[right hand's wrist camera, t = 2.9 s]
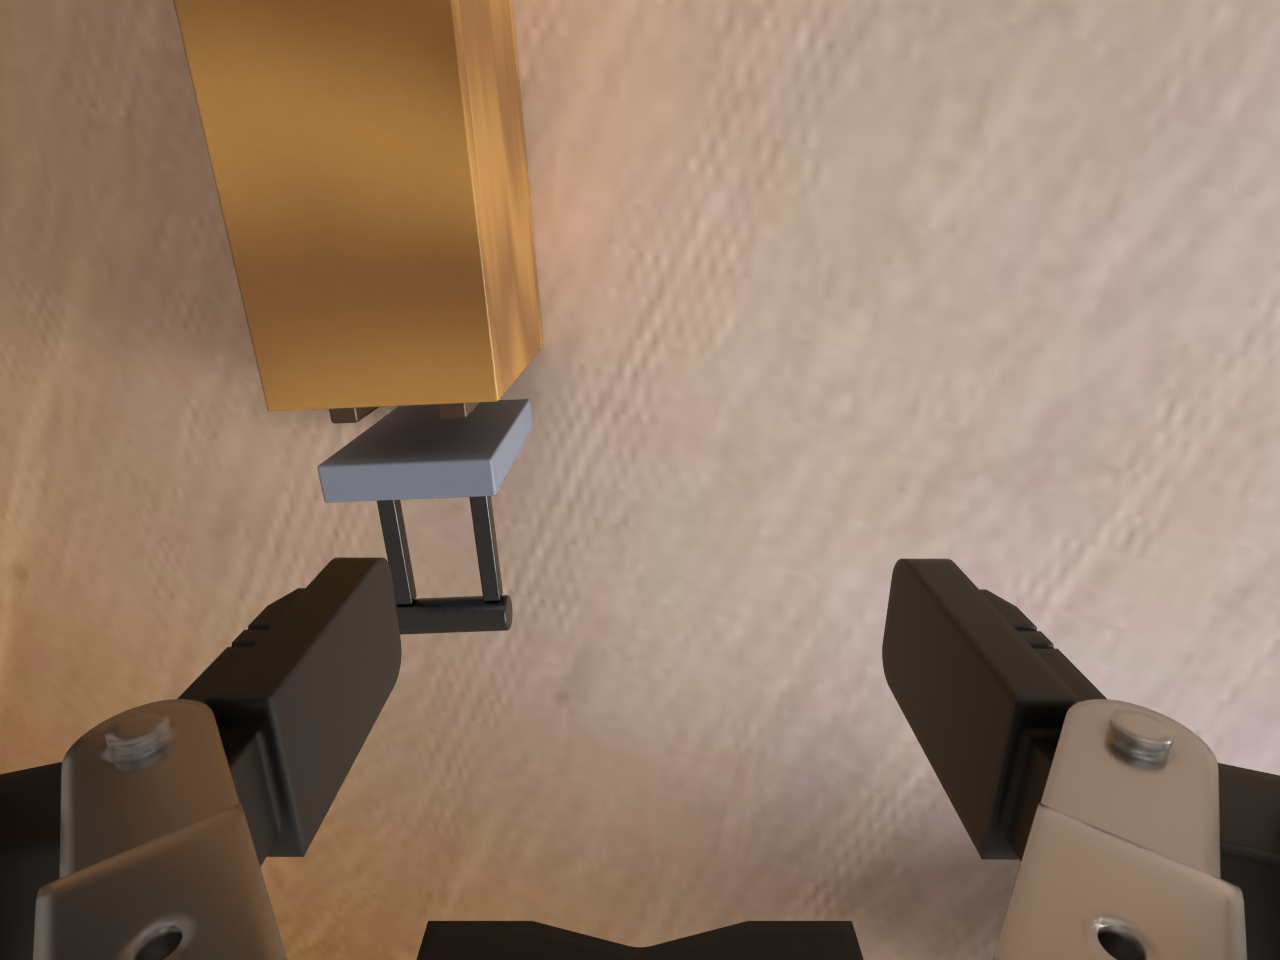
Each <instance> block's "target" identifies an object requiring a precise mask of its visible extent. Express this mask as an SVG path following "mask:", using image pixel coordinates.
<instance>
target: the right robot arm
mask: <svg viewBox="0 0 1280 960" xmlns="http://www.w3.org/2000/svg"><path fill="white" fill-rule="evenodd" d="M882 658H883V667H884V673H885V677H886V680H887V683H888V685H889V687H890V689H891V691H892V693H893V695H894V697H895V698H896V700H897V702H898V704H899V706H900V708H901V710H902V712H903V713H904V715H905V717H906V719H907V721H908V723H909V725H910V726H911V728H912V730H913V732H914V734H915V736H916V738H917V739H918V741H919V743H920V745H921V747H922V749H923V751H924V752H925V754H926V756H927V758H928V760H929V762H930V764H931V765H932V767H933V769H934V771H935V773H936V775H937V777H938V778H939V780H940V782H941V784H942V786H943V788H944V790H945V792H946V793H947V795H948V797H949V799H950V801H951V803H952V805H953V806H954V808H955V810H956V812H957V814H958V816H959V818H960V819H961V821H962V823H963V825H964V827H965V829H966V831H967V832H968V834H969V836H970V838H971V840H972V842H973V844H974V845H975V847H976V849H977V851H978V853H979V855H980V857H981V859H1020V861H1021V865H1020V868H1019V872H1018V875H1017V878H1016V882H1015V885H1014V889H1013V892H1012V896H1011V899H1010V902H1009V906H1008V909H1007V913H1006V916H1005V919H1004V923H1003V926H1002V930H1001V933H1000V937H999V940H998V943H997V947H996V950H995V954H994V957H993V960H1280V776H1279V775H1274V774H1269V773H1264V772H1259V771H1254V770H1250V769H1245V768H1240V767H1235V766H1230V765H1225V764H1221V763H1217V759H1216V757H1215V755H1214V753H1213V752H1212V750H1211V749H1210V748H1209V747H1208V745H1207V744H1206V743H1205V742H1204V741H1203V740H1202V739H1201V738H1200V737H1198V736H1197V735H1196V734H1194V733H1193V732H1192V731H1191V730H1189V729H1188V728H1186V727H1185V726H1183V725H1181V724H1180V723H1178V722H1176V721H1174V720H1173V719H1171V718H1169V717H1167V716H1165V715H1162V714H1160V713H1158V712H1156V711H1153V710H1150V709H1148V708H1145V707H1142V706H1138V705H1135V704H1131V703H1127V702H1122V701H1116V700H1108V699H1107V698H1106V697H1105V696H1104V695H1103V694H1102V693H1101V692H1100V691H1099V690H1098V689H1097V688H1096V687H1095V686H1094V685H1093V684H1092V683H1091V682H1090V681H1089V680H1088V679H1087V678H1086V677H1085V676H1084V675H1083V674H1082V673H1081V672H1080V671H1079V670H1078V669H1077V668H1076V667H1075V666H1074V665H1073V664H1072V663H1071V662H1070V661H1069V660H1068V659H1067V658H1066V657H1065V656H1064V655H1063V654H1062V653H1061V652H1060V651H1059V650H1058V649H1054V647H1053V643H1052V642H1051V641H1050V640H1049V639H1048V638H1047V637H1046V636H1045V635H1044V634H1043V633H1042V632H1041V631H1037V627H1036V626H1035V625H1034V624H1033V623H1032V622H1031V621H1030V620H1029V619H1028V618H1027V617H1026V616H1025V615H1024V614H1023V613H1022V612H1021V611H1020V610H1019V609H1018V608H1017V607H1016V606H1014V605H1012V604H1011V603H1009V602H1007V601H1005V600H1004V599H1002V598H1000V597H998V596H997V595H995V594H993V593H991V592H989V591H988V590H979V589H978V588H977V587H976V586H975V585H974V584H973V583H972V581H971V580H970V579H969V578H968V577H967V576H966V575H965V574H964V573H963V572H962V571H961V570H960V569H959V567H958V566H957V565H956V564H955V563H954V562H953V561H952V560H950V559H899V560H898V561H897V563H896V564H895V567H894V570H893V574H892V581H891V588H890V595H889V602H888V610H887V617H886V624H885V631H884V638H883V647H882ZM400 664H401V640H400V632H399V625H398V618H397V610H396V603H395V596H394V588H393V581H392V574H391V569H390V566H389V563H388V562H387V560H386V559H385V558H334V559H332V560H331V561H330V562H329V563H328V564H327V566H326V567H325V568H324V569H323V570H322V571H321V572H320V573H319V574H318V575H317V576H316V578H315V579H314V580H313V581H312V582H311V583H310V584H309V585H308V586H307V587H306V588H298V589H296V590H295V591H293V592H291V593H289V594H288V595H286V596H284V597H282V598H281V599H279V600H277V601H275V602H274V603H272V604H270V605H268V606H267V607H266V608H265V609H264V610H263V611H262V612H261V613H260V614H259V615H258V616H257V617H256V618H255V619H254V621H253V622H252V623H251V624H250V625H249V626H248V630H244V631H243V632H242V633H241V634H240V635H239V636H238V637H237V638H236V639H235V640H234V641H233V642H232V647H227V648H226V649H225V650H224V651H223V652H222V653H221V654H220V655H219V657H218V658H217V659H216V660H215V661H214V662H213V663H212V664H211V665H210V666H209V667H208V668H207V669H206V670H205V671H204V672H203V673H202V674H201V675H200V676H199V677H198V678H197V679H196V680H195V681H194V682H193V683H192V684H191V685H190V686H189V687H188V688H187V689H186V690H185V691H184V693H183V694H182V695H181V696H180V697H179V698H178V699H172V700H164V701H158V702H153V703H149V704H145V705H142V706H138V707H135V708H132V709H130V710H127V711H124V712H122V713H120V714H118V715H115V716H113V717H111V718H109V719H107V720H106V721H104V722H102V723H100V724H99V725H97V726H95V727H94V728H92V729H91V730H89V731H88V732H87V733H86V734H84V735H83V736H82V737H80V738H79V739H78V740H77V741H76V742H75V743H74V744H73V745H72V747H71V748H70V749H69V750H68V752H67V753H66V755H65V757H64V759H63V762H59V763H55V764H50V765H45V766H40V767H35V768H30V769H25V770H20V771H15V772H11V773H6V774H1V775H0V960H287V957H286V954H285V950H284V947H283V943H282V940H281V937H280V933H279V930H278V926H277V923H276V919H275V916H274V913H273V909H272V906H271V902H270V899H269V896H268V892H267V889H266V885H265V882H264V878H263V875H262V872H261V868H260V867H261V865H262V863H263V862H264V860H265V858H266V857H304V855H305V853H306V851H307V849H308V847H309V846H310V844H311V842H312V840H313V838H314V836H315V834H316V832H317V831H318V829H319V827H320V825H321V823H322V821H323V819H324V817H325V815H326V814H327V812H328V810H329V808H330V806H331V804H332V802H333V800H334V799H335V797H336V795H337V793H338V791H339V789H340V787H341V785H342V783H343V782H344V780H345V778H346V776H347V774H348V772H349V770H350V768H351V766H352V765H353V763H354V761H355V759H356V757H357V755H358V753H359V751H360V750H361V748H362V746H363V744H364V742H365V740H366V738H367V736H368V734H369V733H370V731H371V729H372V727H373V725H374V723H375V721H376V719H377V718H378V716H379V714H380V712H381V710H382V708H383V706H384V704H385V702H386V701H387V699H388V697H389V695H390V693H391V691H392V689H393V687H394V685H395V683H396V681H397V678H398V674H399V670H400ZM417 960H863V957H862V953H861V950H860V947H859V944H858V940H857V937H856V934H855V930H854V927H853V924H852V921H746V922H742V923H738V924H735V925H731V926H727V927H723V928H719V929H715V930H712V931H708V932H704V933H700V934H696V935H692V936H689V937H685V938H681V939H677V940H673V941H669V942H665V943H662V944H658V945H654V946H649V947H631V946H626V945H622V944H618V943H615V942H611V941H607V940H603V939H599V938H595V937H591V936H588V935H584V934H580V933H576V932H572V931H568V930H565V929H561V928H557V927H553V926H549V925H545V924H542V923H538V922H534V921H428V924H427V927H426V930H425V934H424V937H423V940H422V944H421V947H420V950H419V953H418V957H417Z"/></svg>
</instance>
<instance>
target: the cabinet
mask: <svg viewBox="0 0 1280 960" xmlns="http://www.w3.org/2000/svg"><path fill="white" fill-rule="evenodd" d="M173 1H174V5H175V9H176V14H177V18H178V22H179V27H180V31H181V35H182V40H183V44H184V48H185V53H186V57H187V61H188V66H189V70H190V74H191V79H192V83H193V87H194V92H195V96H196V101H197V105H198V109H199V114H200V118H201V122H202V127H203V131H204V135H205V140H206V144H207V148H208V153H209V157H210V161H211V166H212V170H213V174H214V179H215V183H216V187H217V192H218V196H219V200H220V205H221V209H222V214H223V218H224V222H225V227H226V231H227V235H228V240H229V244H230V248H231V253H232V257H233V261H234V266H235V270H236V274H237V279H238V283H239V287H240V292H241V296H242V300H243V305H244V309H245V313H246V318H247V322H248V326H249V331H250V335H251V340H252V344H253V348H254V353H255V357H256V361H257V366H258V370H259V374H260V379H261V383H262V387H263V392H264V396H265V400H266V405H267V409H268V411H289V410H312V409H336V408H359V407H382V406H405V405H428V404H452V403H475V402H497V401H499V400H500V398H501V397H502V396H503V395H504V393H505V392H506V391H507V390H508V389H509V387H510V386H511V385H512V384H513V382H514V381H515V380H516V379H517V378H518V376H519V375H520V374H521V373H522V371H523V370H524V369H525V368H526V367H527V365H528V364H529V363H530V362H531V360H532V359H533V358H534V357H535V356H536V354H537V353H538V352H539V351H540V349H541V348H542V347H543V336H542V325H541V314H540V303H539V292H538V281H537V270H536V259H535V248H534V237H533V226H532V215H531V204H530V193H529V182H528V170H527V159H526V148H525V137H524V126H523V115H522V104H521V93H520V82H519V71H518V60H517V49H516V38H515V27H514V16H513V5H512V0H173Z"/></svg>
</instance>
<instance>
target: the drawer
mask: <svg viewBox="0 0 1280 960" xmlns="http://www.w3.org/2000/svg"><path fill="white" fill-rule="evenodd" d="M377 408H378V407H359V408H336V409H329V411H330V416H331V421H332V423H354V422H358V421H359V420H361V419H362V418H364V417H365V416H367V415H368V414H370V413H371V412H373V411H374V410H375V409H377ZM532 427H533V425H532V415H531V405H530V400H528V399H523V400H500V401H497V402H475V403H452V404H428V405H405V406H398V407H397V408H396V409H394V410H393V411H392V412H390V413H389V414H388V415H386V416H385V417H384V418H382V419H381V420H380V421H378V422H377V423H376V424H374V425H373V426H371V427H370V428H369V429H367V430H366V431H365V432H363V433H362V434H361V435H359V436H358V437H357V438H355V439H354V440H353V441H351V442H350V443H349V444H347V445H346V446H345V447H343V448H342V449H340V450H339V451H338V452H336V453H335V454H334V455H332V456H331V457H330V458H328V459H327V460H326V461H324V462H323V463H322V464H320V465H319V466H318V473H319V477H320V482H321V487H322V492H323V496H324V501H325V502H327V503H329V502H354V501H377V504H378V509H379V515H380V520H381V525H382V531H383V536H384V542H385V547H386V553H387V558H388V563H389V566H390V569H391V574H392V581H393V588H394V596H395V603H396V610H397V618H398V625H399V632H400V634H425V633H452V632H478V631H505V630H509V629H510V627H511V623H512V602H511V599H510V596H508V595H502V593H503V590H502V582H501V574H500V566H499V558H498V550H497V542H496V534H495V526H494V518H493V510H492V502H491V496H494V495H496V493H497V492H498V490H499V488H500V486H501V484H502V482H503V481H504V479H505V477H506V475H507V473H508V471H509V469H510V468H511V466H512V464H513V462H514V460H515V458H516V457H517V455H518V453H519V451H520V449H521V447H522V445H523V444H524V442H525V440H526V438H527V436H528V434H529V433H530V431H531V429H532ZM451 497H470V505H471V512H472V519H473V527H474V534H475V541H476V549H477V556H478V563H479V571H480V578H481V585H482V593H483V596H472V597H446V598H420V599H415V598H416V590H415V584H414V578H413V572H412V567H411V561H410V555H409V549H408V543H407V538H406V532H405V526H404V520H403V514H402V508H401V503H400V500H402V499H427V498H451Z"/></svg>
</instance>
